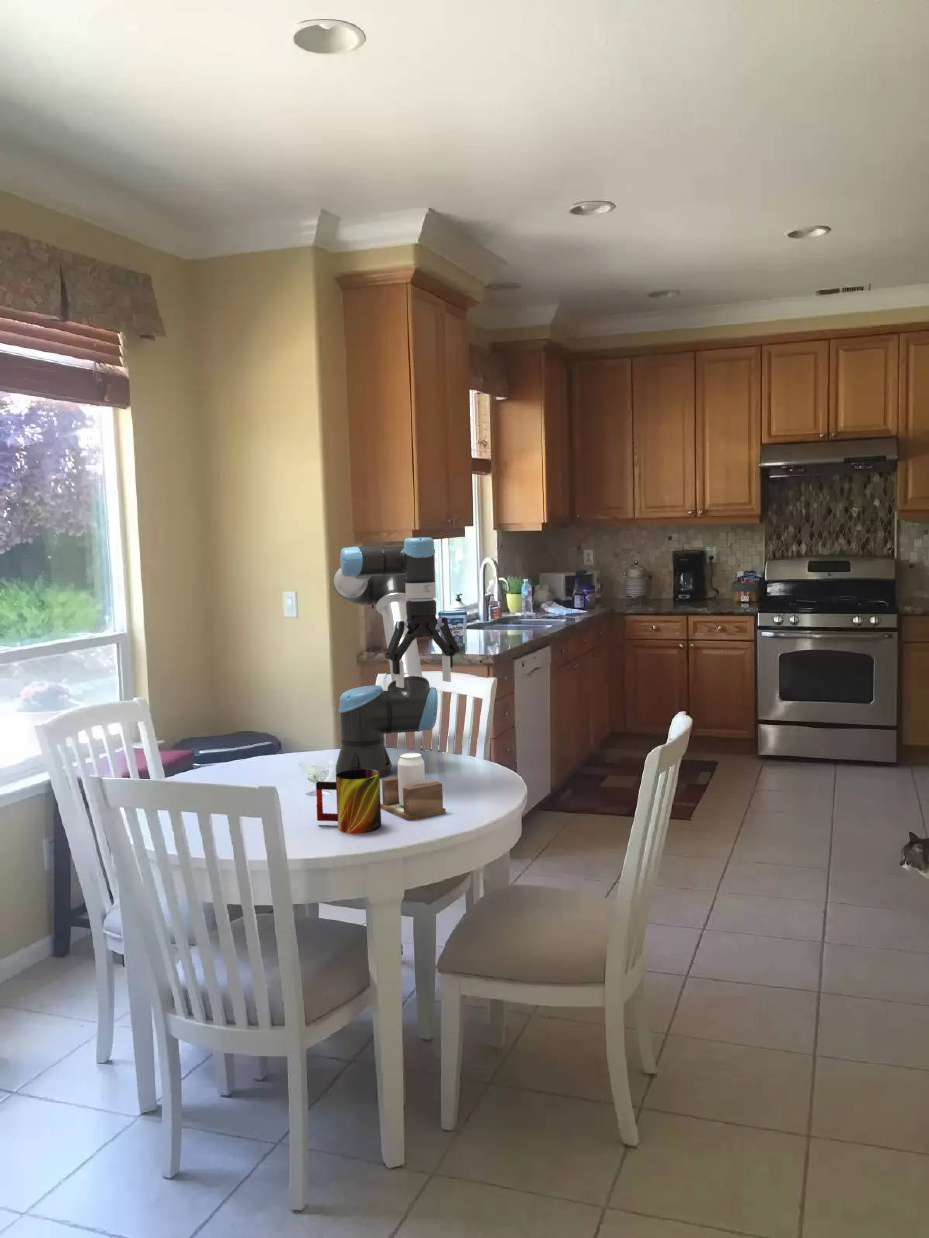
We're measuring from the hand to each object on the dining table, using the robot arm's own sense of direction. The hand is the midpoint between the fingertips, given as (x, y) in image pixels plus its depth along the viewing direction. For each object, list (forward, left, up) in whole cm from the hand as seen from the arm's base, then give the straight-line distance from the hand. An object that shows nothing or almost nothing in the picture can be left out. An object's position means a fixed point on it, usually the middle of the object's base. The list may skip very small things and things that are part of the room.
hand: (423, 684), depth 256 cm
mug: (+18, -31, -27) cm, 45 cm away
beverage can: (+15, -13, -26) cm, 32 cm away
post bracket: (+15, -13, -27) cm, 33 cm away
